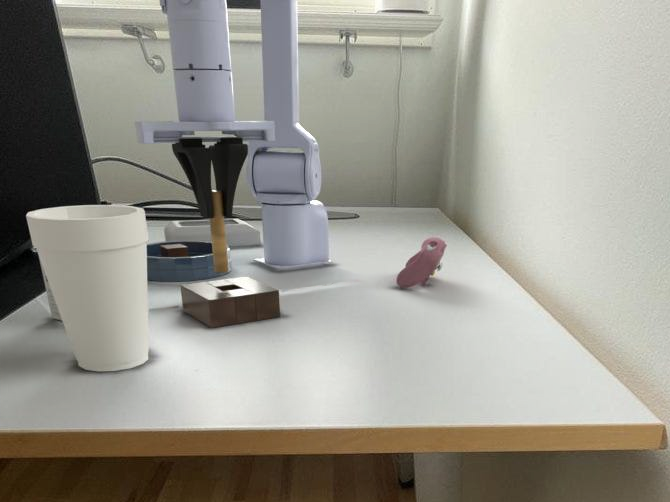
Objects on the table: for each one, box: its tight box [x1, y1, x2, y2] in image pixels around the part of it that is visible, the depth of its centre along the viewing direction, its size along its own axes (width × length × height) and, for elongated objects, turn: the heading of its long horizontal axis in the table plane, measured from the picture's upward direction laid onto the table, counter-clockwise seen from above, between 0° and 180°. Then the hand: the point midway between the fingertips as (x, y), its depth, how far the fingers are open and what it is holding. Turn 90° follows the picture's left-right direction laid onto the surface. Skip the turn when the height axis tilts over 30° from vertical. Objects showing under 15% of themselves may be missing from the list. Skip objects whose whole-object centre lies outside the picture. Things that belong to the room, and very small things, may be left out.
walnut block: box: [160, 244, 189, 257], centre depth 95 cm, size 3×3×3 cm
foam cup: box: [25, 204, 150, 373], centre depth 59 cm, size 10×9×13 cm
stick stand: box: [179, 276, 281, 329], centre depth 76 cm, size 8×8×3 cm
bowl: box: [147, 241, 233, 282], centre depth 94 cm, size 14×14×4 cm
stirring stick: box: [208, 189, 229, 273], centre depth 73 cm, size 2×2×8 cm
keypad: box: [163, 218, 262, 247], centre depth 114 cm, size 10×4×15 cm
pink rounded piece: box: [395, 237, 448, 289], centre depth 90 cm, size 10×5×7 cm, turn 168°
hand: (216, 216), depth 73 cm, fingers closed on stirring stick, 1 cm apart
